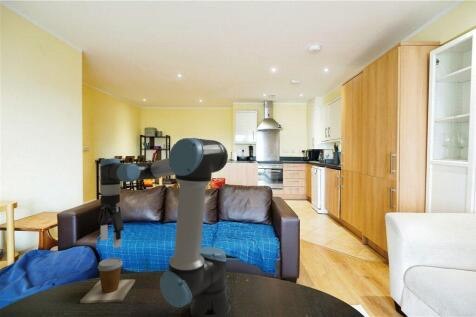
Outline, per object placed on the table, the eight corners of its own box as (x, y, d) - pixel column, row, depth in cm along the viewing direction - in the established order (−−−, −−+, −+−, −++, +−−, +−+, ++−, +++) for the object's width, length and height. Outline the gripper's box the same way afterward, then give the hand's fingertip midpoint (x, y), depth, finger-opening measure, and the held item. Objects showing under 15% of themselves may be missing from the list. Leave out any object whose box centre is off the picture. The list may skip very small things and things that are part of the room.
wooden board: (135, 281, 114) (135, 279, 114) (121, 301, 98) (121, 299, 98) (99, 282, 112) (99, 280, 112) (79, 303, 97) (79, 300, 97)
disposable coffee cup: (126, 284, 109) (126, 257, 109) (113, 296, 100) (114, 267, 100) (106, 283, 110) (106, 256, 110) (92, 294, 101) (92, 265, 101)
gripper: (132, 195, 100) (132, 247, 100) (107, 190, 116) (107, 235, 116) (113, 198, 94) (113, 253, 94) (90, 192, 110) (90, 239, 110)
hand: (110, 243), depth 105 cm, fingers open, 13 cm apart
